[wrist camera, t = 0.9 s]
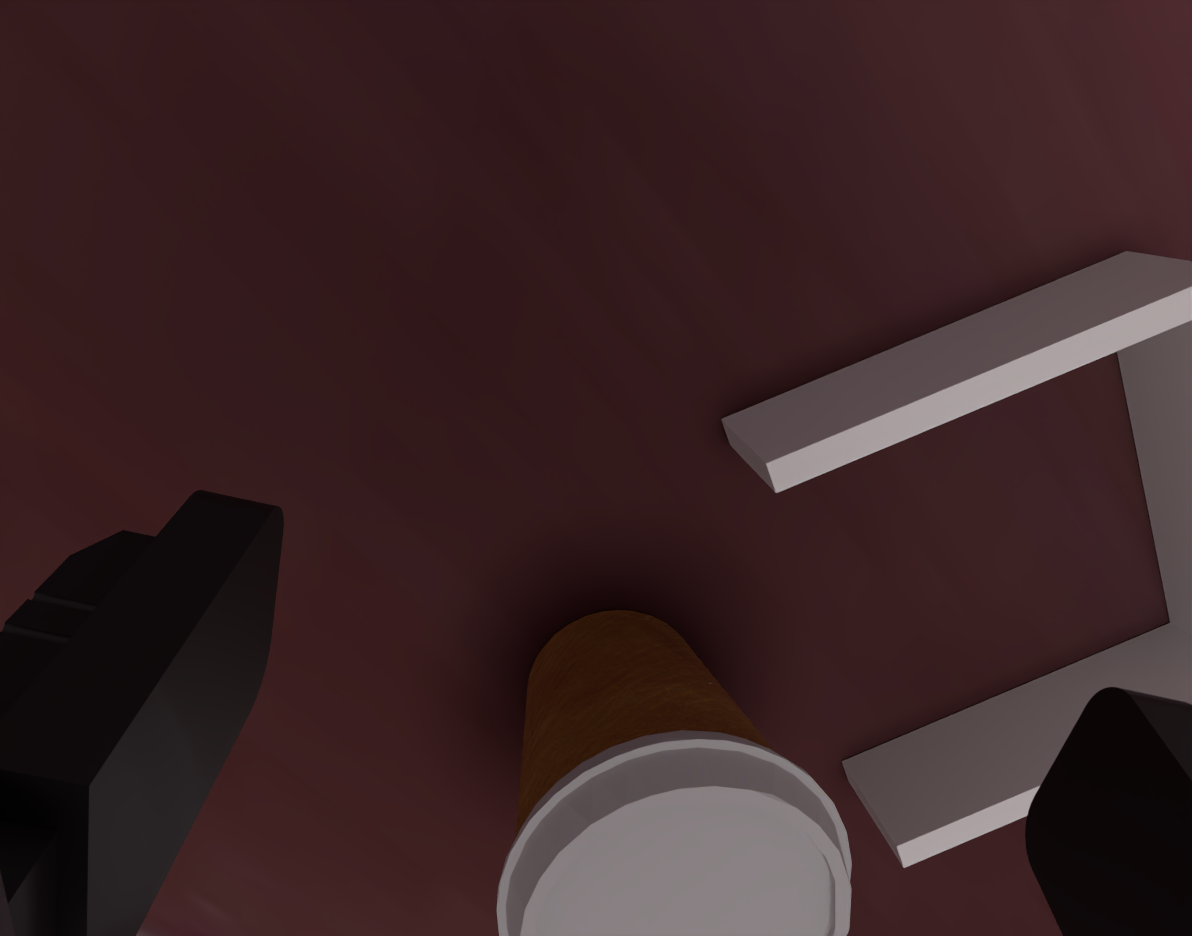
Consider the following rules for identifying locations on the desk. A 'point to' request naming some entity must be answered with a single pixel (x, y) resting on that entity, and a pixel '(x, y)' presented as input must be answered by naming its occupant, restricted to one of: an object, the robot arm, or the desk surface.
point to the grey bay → (952, 389)
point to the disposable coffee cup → (660, 802)
